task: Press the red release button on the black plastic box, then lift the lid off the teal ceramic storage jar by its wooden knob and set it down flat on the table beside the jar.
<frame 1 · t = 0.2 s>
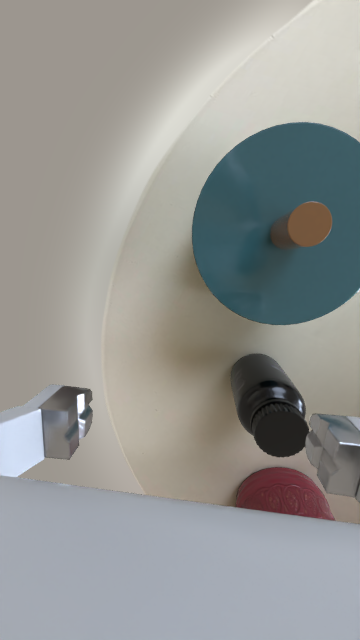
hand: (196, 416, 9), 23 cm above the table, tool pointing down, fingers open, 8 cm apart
kitchen canister: (277, 499, 38), on the table
jar lid: (285, 233, 19), point 10 cm above the table, touching storage jar
supplement bottle: (254, 374, 34), on the table
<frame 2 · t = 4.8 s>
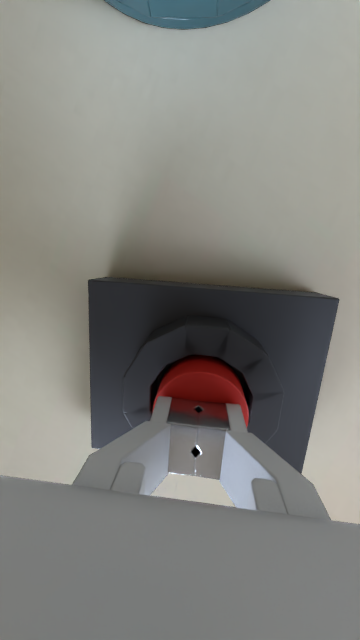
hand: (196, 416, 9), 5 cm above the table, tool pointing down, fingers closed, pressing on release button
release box: (200, 364, 14), on the table
release button: (200, 403, 10), point 4 cm above the table, slide at -0.4 cm, touching gripper
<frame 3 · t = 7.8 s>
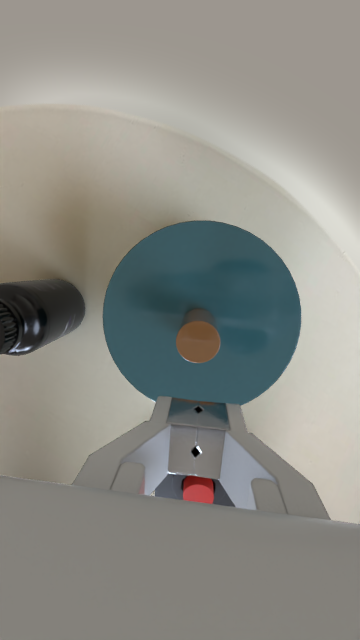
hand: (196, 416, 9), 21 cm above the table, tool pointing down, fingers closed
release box: (198, 461, 34), on the table
release button: (198, 490, 30), point 5 cm above the table, slide at 0.2 cm
jar lid: (198, 323, 19), point 10 cm above the table, touching storage jar
supplement bottle: (61, 305, 31), on the table
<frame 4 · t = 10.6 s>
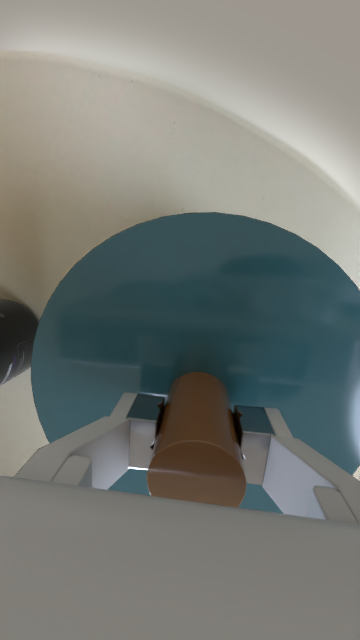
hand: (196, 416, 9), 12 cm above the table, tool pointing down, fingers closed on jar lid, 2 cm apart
jar lid: (198, 393, 11), point 11 cm above the table, touching gripper, storage jar
supplement bottle: (13, 333, 23), on the table
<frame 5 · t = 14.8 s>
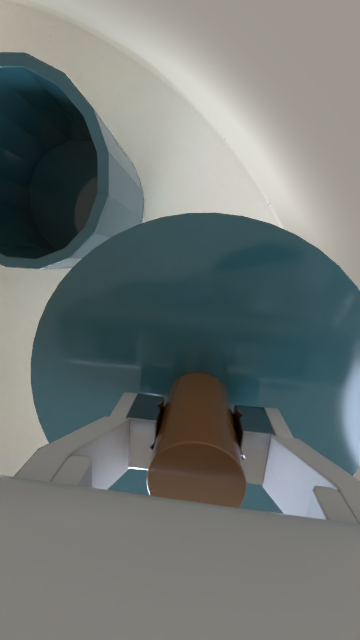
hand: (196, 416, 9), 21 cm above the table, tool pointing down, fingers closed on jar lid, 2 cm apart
storage jar: (84, 204, 28), on the table
jar lid: (198, 393, 11), point 19 cm above the table, touching gripper
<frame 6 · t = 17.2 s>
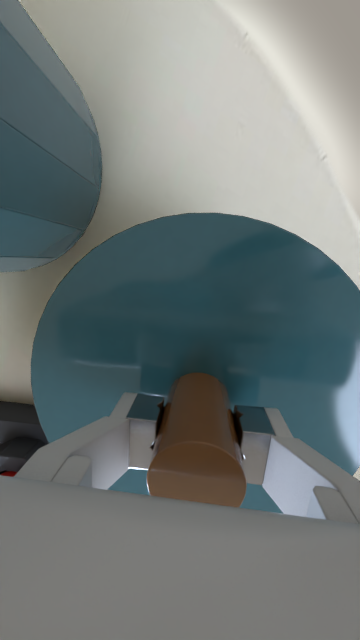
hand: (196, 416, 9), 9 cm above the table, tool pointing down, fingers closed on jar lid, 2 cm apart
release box: (49, 453, 21), on the table
release button: (9, 503, 17), point 5 cm above the table, slide at 0.2 cm
storage jar: (1, 163, 16), on the table
jar lid: (198, 393, 11), point 7 cm above the table, touching gripper
when the fingers open (2 cm above the table, at t = 18.9 s): jar lid stays where it is, point 1 cm above the table.
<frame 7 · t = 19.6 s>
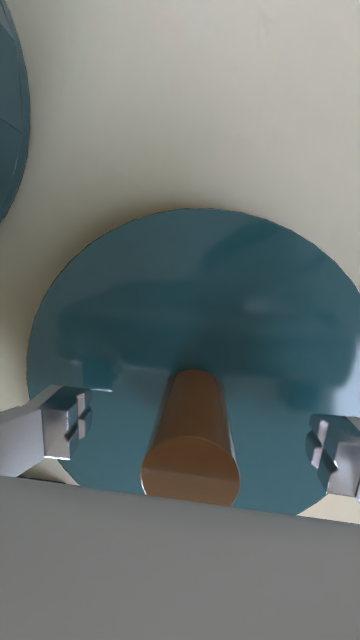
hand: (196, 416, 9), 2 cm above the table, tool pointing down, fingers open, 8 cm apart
jar lid: (194, 390, 11), point 1 cm above the table
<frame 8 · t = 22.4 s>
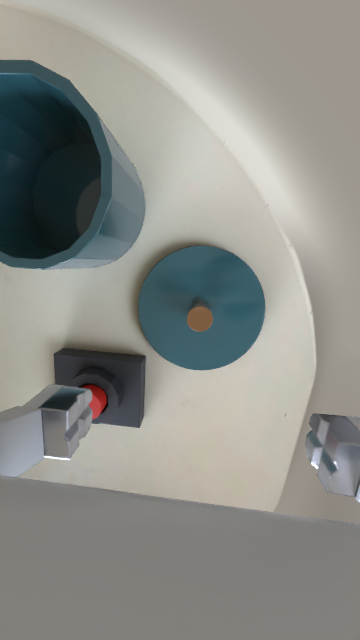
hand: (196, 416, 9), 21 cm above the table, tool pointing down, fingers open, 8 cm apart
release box: (104, 383, 33), on the table
release button: (89, 402, 29), point 5 cm above the table, slide at 0.2 cm
storage jar: (86, 205, 28), on the table
jar lid: (200, 310, 29), point 1 cm above the table
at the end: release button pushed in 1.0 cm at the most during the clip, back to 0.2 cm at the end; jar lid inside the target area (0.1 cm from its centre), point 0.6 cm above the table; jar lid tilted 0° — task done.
